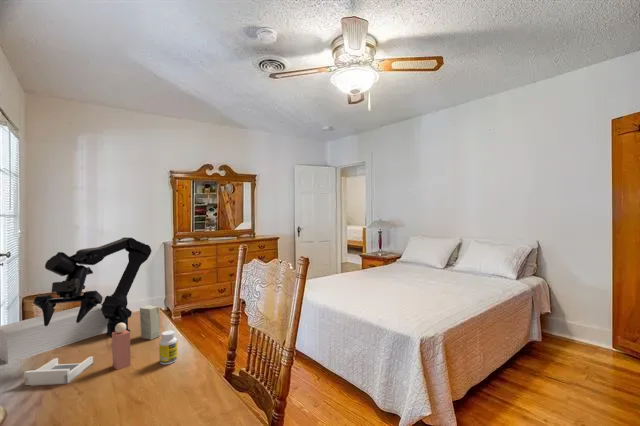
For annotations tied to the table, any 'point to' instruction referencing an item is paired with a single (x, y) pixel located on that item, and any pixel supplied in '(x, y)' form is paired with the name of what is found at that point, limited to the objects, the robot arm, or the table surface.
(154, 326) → the skincare box
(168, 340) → the supplement bottle
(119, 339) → the foosball player
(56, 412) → the table surface
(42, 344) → the ridged white long block
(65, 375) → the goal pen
